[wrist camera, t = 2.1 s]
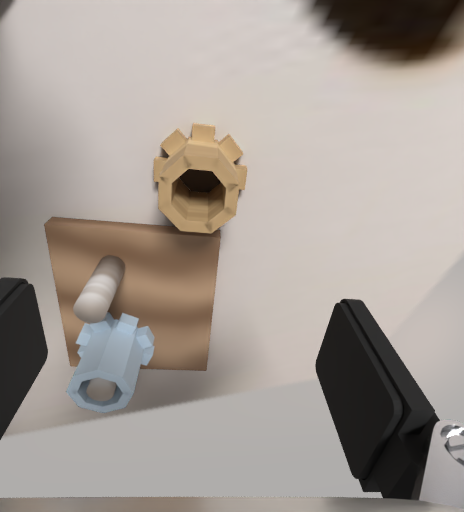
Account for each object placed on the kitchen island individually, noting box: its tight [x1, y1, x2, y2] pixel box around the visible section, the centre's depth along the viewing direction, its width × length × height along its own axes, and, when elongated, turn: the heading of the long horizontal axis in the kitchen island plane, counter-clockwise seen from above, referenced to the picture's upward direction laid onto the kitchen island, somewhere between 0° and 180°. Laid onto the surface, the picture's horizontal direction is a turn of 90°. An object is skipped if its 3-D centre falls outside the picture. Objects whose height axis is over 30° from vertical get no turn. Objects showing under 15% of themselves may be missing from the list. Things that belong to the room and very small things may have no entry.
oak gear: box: [154, 123, 247, 233], centre depth 23 cm, size 7×7×6 cm
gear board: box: [44, 217, 221, 401], centre depth 28 cm, size 16×14×8 cm
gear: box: [66, 312, 155, 413], centre depth 29 cm, size 7×7×6 cm
